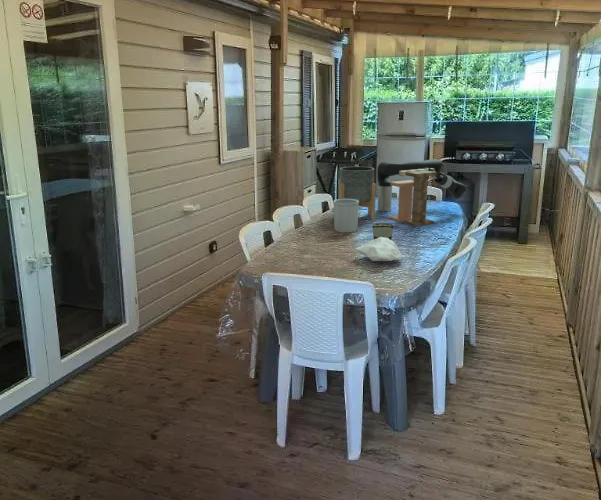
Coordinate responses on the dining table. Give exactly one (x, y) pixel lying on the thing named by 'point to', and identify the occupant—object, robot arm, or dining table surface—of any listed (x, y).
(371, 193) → the planter
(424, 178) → the walnut base stand
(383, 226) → the food container
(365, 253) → the crumpled cloth
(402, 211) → the terracotta base stand
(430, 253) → the dining table surface
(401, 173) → the beech bar
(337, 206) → the utensil holder
